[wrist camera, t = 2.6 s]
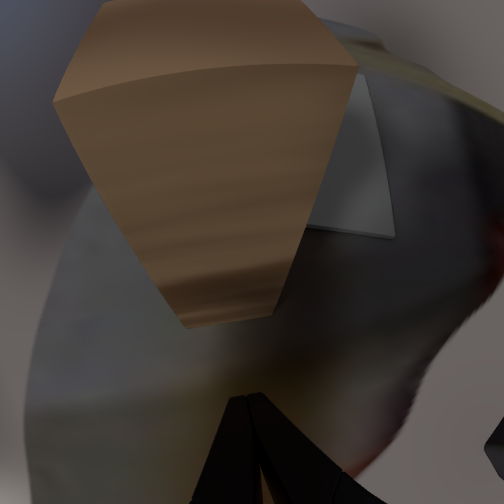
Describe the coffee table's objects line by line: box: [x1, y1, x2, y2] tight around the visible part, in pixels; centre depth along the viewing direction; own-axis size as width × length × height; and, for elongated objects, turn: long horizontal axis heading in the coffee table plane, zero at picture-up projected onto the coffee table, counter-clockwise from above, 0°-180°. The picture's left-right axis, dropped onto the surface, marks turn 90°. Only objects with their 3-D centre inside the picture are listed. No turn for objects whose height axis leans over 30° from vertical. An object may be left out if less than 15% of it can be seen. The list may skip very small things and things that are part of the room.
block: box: [53, 0, 359, 329], centre depth 11 cm, size 4×4×14 cm
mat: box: [306, 74, 395, 239], centre depth 23 cm, size 18×14×1 cm
